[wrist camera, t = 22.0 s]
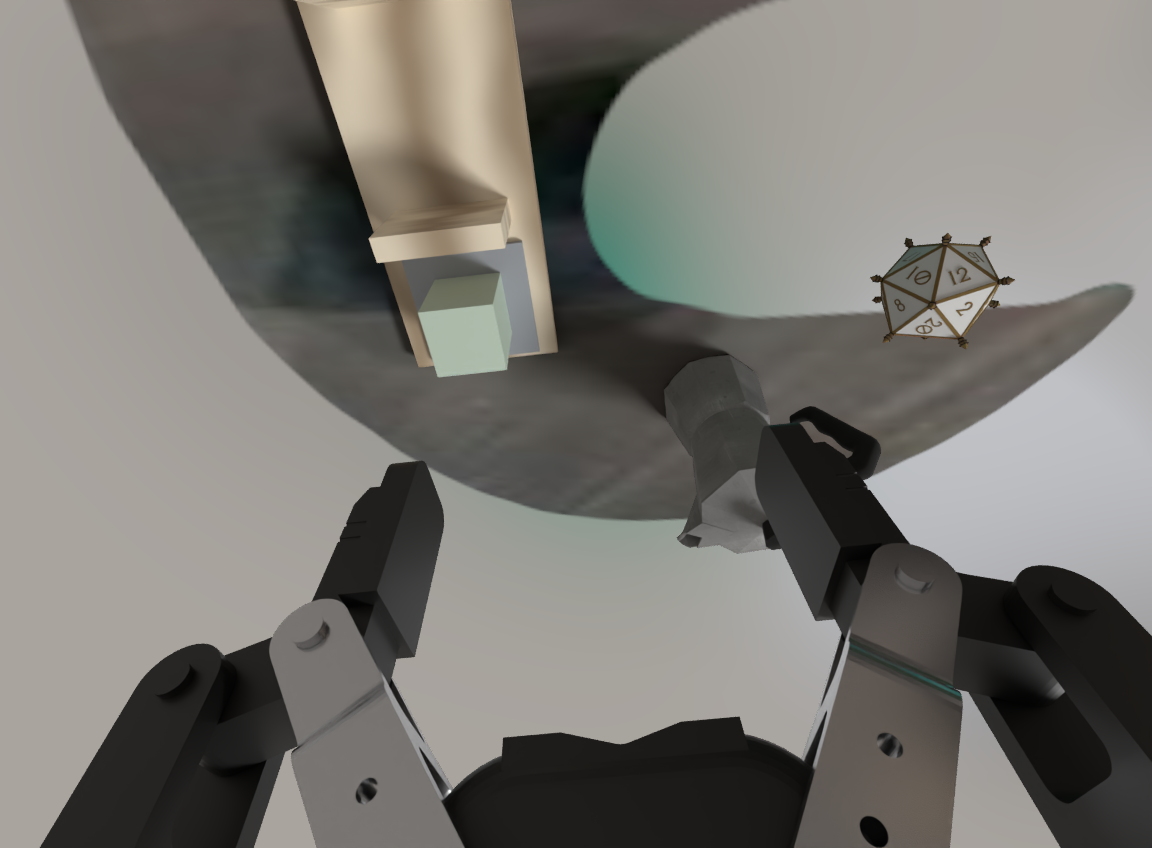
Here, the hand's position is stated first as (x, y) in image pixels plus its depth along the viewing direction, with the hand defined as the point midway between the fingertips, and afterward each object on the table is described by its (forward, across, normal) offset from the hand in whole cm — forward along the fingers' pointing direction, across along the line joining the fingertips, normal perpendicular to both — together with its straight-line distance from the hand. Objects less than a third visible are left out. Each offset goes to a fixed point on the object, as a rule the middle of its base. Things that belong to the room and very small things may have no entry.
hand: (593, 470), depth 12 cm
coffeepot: (+30, -13, +19) cm, 38 cm away
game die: (+30, -27, +9) cm, 42 cm away
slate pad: (+29, +8, +7) cm, 31 cm away
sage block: (+28, +8, +7) cm, 30 cm away
